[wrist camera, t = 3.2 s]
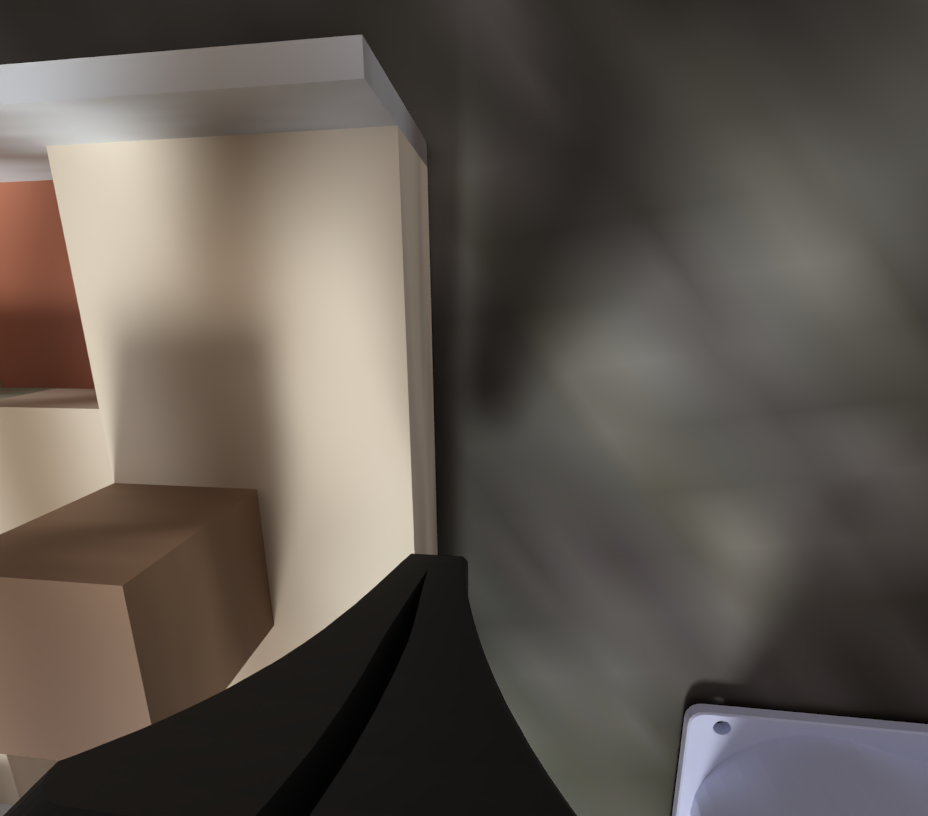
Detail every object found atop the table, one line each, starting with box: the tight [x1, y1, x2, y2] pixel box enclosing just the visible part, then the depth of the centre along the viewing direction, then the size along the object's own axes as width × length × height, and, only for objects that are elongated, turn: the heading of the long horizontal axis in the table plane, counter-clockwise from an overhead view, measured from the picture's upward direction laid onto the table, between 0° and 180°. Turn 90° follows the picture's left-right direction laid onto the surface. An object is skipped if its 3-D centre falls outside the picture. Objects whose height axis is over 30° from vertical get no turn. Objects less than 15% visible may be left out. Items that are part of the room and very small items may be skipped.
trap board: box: [0, 35, 438, 816], centre depth 13 cm, size 19×21×5 cm
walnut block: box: [0, 483, 274, 761], centre depth 10 cm, size 4×4×4 cm
